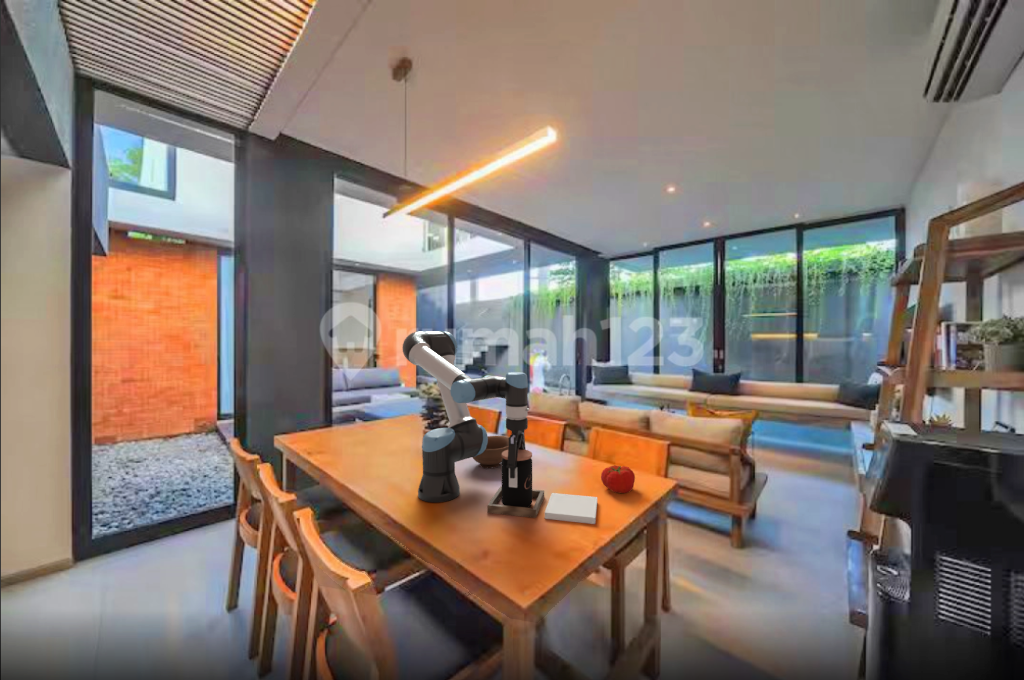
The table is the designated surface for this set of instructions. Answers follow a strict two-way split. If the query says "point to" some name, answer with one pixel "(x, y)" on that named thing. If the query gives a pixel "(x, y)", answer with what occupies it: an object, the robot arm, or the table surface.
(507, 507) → the holder
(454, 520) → the table surface
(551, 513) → the tile
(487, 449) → the bowl
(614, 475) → the tomato
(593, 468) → the table surface
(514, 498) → the coffee jar
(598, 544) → the table surface
